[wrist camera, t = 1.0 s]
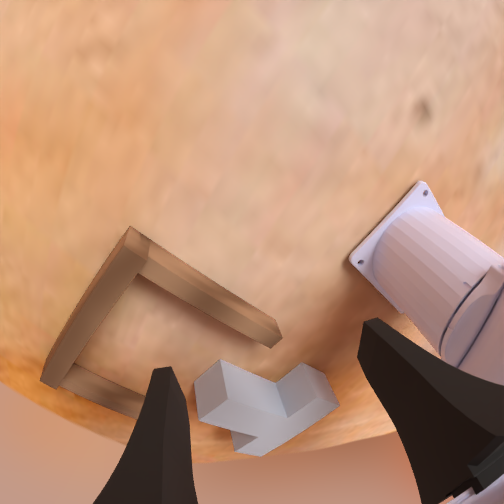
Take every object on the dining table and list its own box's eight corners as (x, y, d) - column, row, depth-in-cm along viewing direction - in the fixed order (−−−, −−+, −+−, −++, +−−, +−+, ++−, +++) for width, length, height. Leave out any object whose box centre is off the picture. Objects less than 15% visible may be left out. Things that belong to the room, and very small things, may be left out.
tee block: (324, 373, 28) (339, 405, 24) (252, 425, 30) (261, 456, 27) (247, 333, 23) (259, 374, 20) (172, 399, 26) (175, 436, 22)
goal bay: (275, 319, 23) (284, 342, 21) (167, 412, 26) (168, 434, 24) (130, 225, 17) (123, 245, 15) (46, 358, 21) (39, 380, 19)
